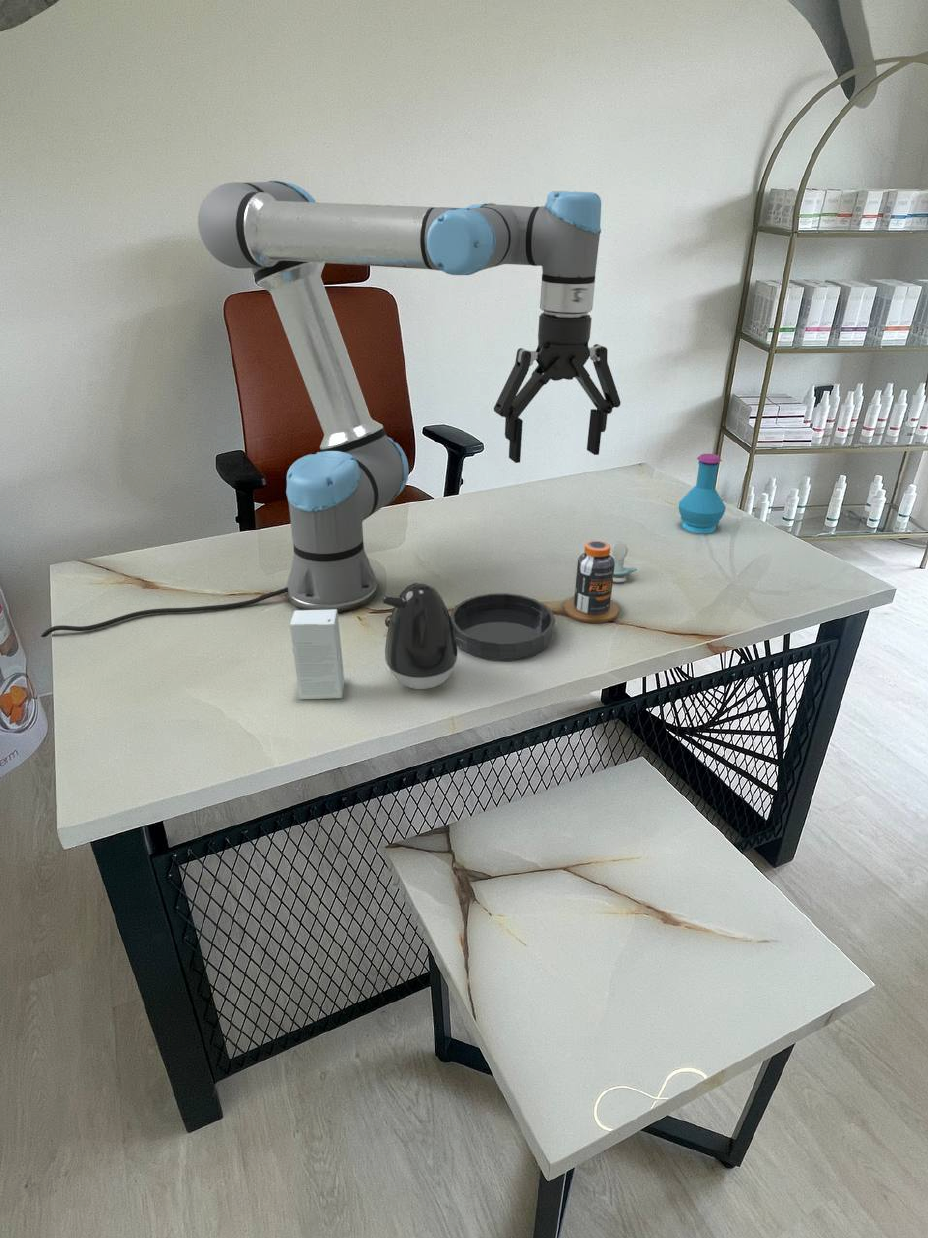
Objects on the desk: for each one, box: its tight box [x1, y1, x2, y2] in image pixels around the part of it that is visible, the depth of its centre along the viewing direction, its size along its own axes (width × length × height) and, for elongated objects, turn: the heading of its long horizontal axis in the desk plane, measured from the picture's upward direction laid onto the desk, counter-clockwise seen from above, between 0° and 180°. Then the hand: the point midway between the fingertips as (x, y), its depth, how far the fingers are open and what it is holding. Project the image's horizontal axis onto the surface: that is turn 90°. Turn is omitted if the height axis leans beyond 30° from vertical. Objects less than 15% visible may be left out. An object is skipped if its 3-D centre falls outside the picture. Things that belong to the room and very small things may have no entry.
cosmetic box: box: [289, 609, 345, 700], centre depth 110 cm, size 6×4×12 cm
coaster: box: [563, 595, 620, 624], centre depth 134 cm, size 9×9×1 cm
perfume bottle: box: [678, 453, 726, 534], centre depth 161 cm, size 9×9×15 cm
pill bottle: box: [573, 539, 615, 614], centre depth 131 cm, size 6×6×11 cm
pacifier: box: [612, 541, 638, 583], centre depth 143 cm, size 7×6×6 cm
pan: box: [449, 592, 556, 662], centre depth 126 cm, size 16×16×3 cm
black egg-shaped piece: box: [381, 582, 458, 690], centre depth 112 cm, size 10×10×15 cm
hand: (554, 456), depth 126 cm, fingers open, 13 cm apart
